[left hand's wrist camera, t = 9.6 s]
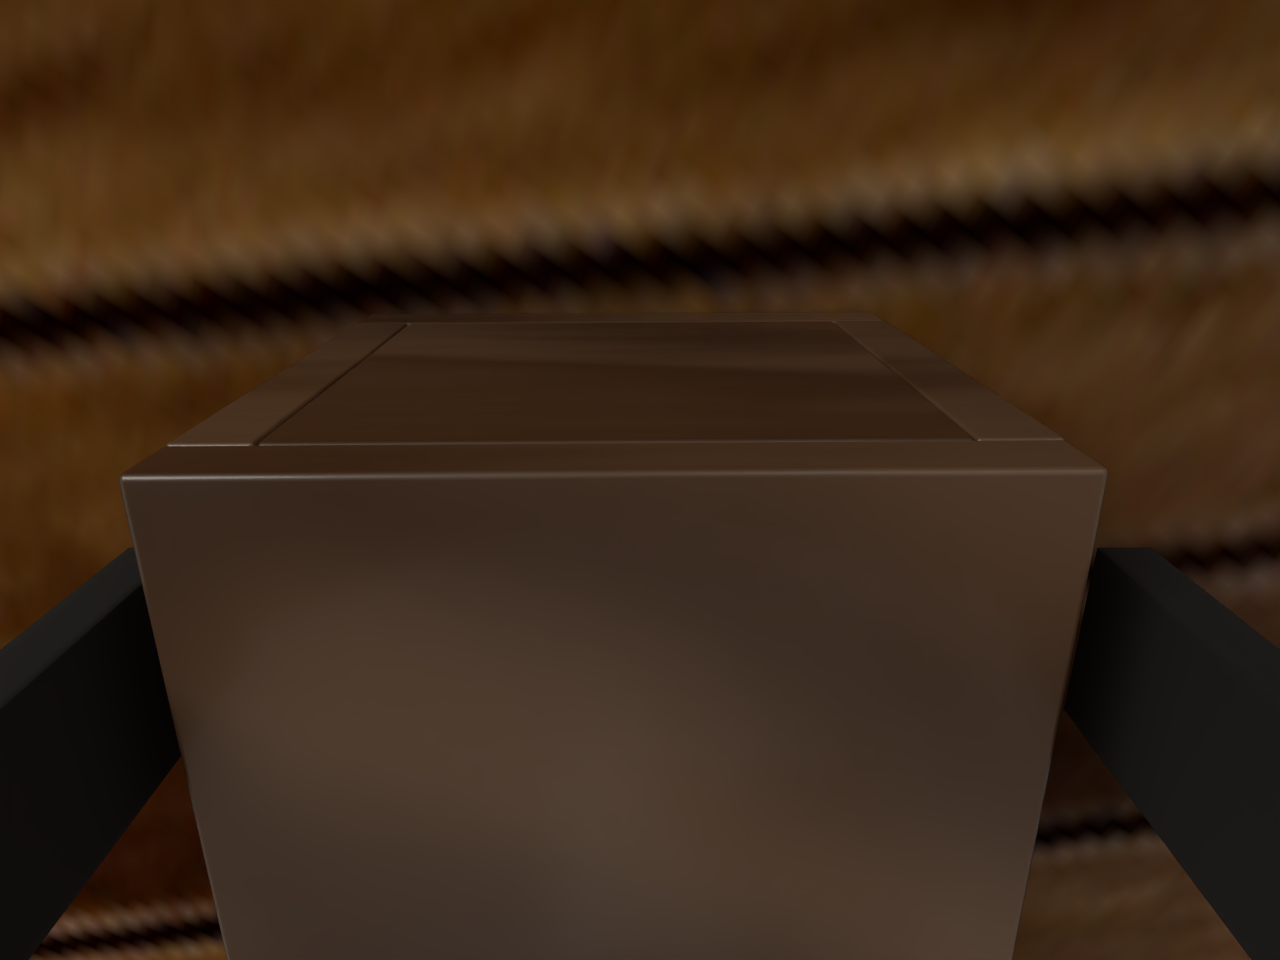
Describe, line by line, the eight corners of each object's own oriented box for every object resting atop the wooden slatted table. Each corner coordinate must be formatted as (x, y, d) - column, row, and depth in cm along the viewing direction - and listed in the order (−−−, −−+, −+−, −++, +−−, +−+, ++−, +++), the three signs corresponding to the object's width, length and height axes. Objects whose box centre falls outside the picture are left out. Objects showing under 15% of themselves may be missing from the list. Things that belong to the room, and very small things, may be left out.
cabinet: (815, 942, 25) (926, 1407, 16) (440, 946, 25) (329, 1418, 15) (872, 311, 18) (1113, 467, 9) (369, 314, 18) (113, 475, 9)
